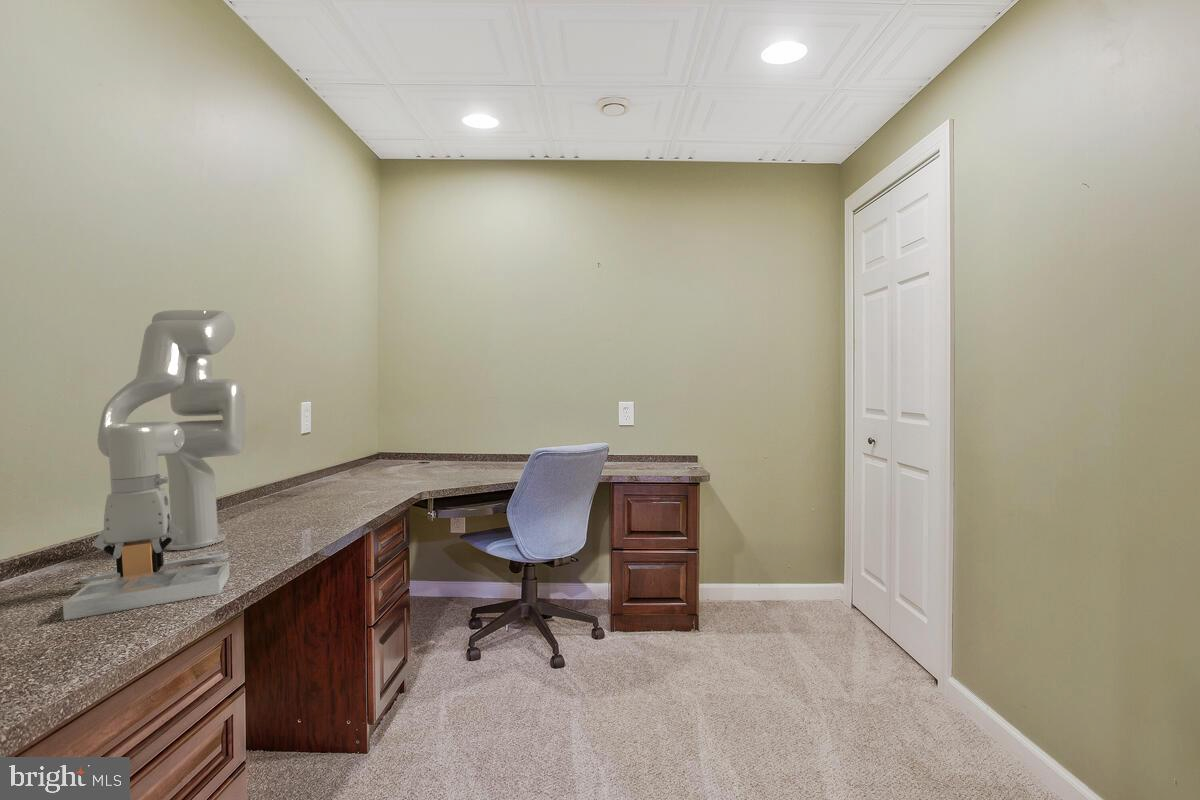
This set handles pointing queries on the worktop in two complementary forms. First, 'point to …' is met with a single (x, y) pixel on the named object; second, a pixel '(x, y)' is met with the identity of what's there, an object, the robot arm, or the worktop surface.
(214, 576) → the grey compartment tray
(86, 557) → the worktop surface
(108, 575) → the grey slotted rack
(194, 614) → the worktop surface
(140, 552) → the rectangular block
